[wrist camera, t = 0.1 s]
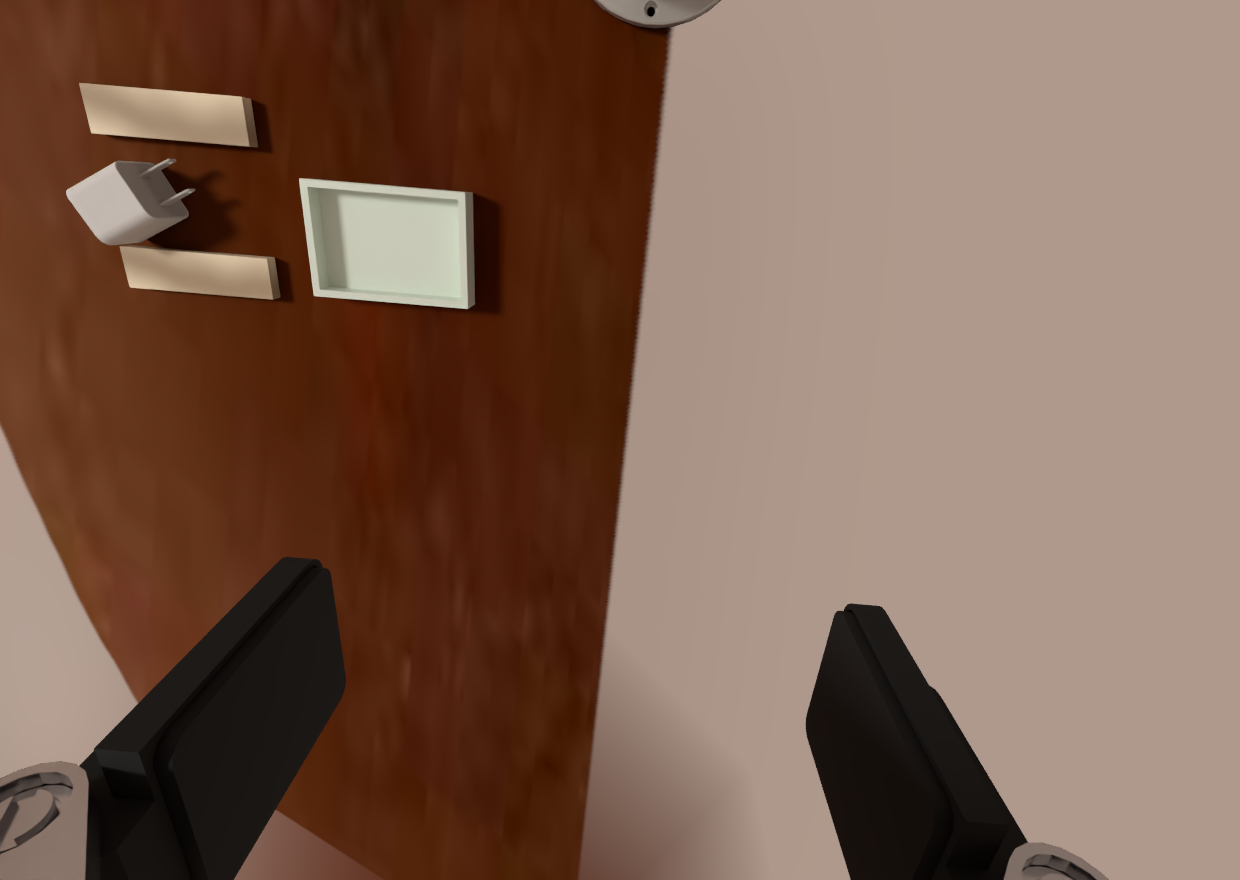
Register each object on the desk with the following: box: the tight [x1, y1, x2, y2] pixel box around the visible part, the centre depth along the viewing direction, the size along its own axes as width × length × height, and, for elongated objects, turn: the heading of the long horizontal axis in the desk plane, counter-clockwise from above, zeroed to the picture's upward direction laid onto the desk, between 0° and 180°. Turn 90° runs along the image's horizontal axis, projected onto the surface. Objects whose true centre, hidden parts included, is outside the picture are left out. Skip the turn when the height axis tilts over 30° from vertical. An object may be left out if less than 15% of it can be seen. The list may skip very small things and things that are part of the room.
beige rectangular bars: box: [79, 83, 280, 300], centre depth 42 cm, size 14×11×1 cm
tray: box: [299, 178, 475, 309], centre depth 42 cm, size 8×12×2 cm
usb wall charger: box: [66, 159, 195, 245], centre depth 41 cm, size 4×7×4 cm, turn 113°
